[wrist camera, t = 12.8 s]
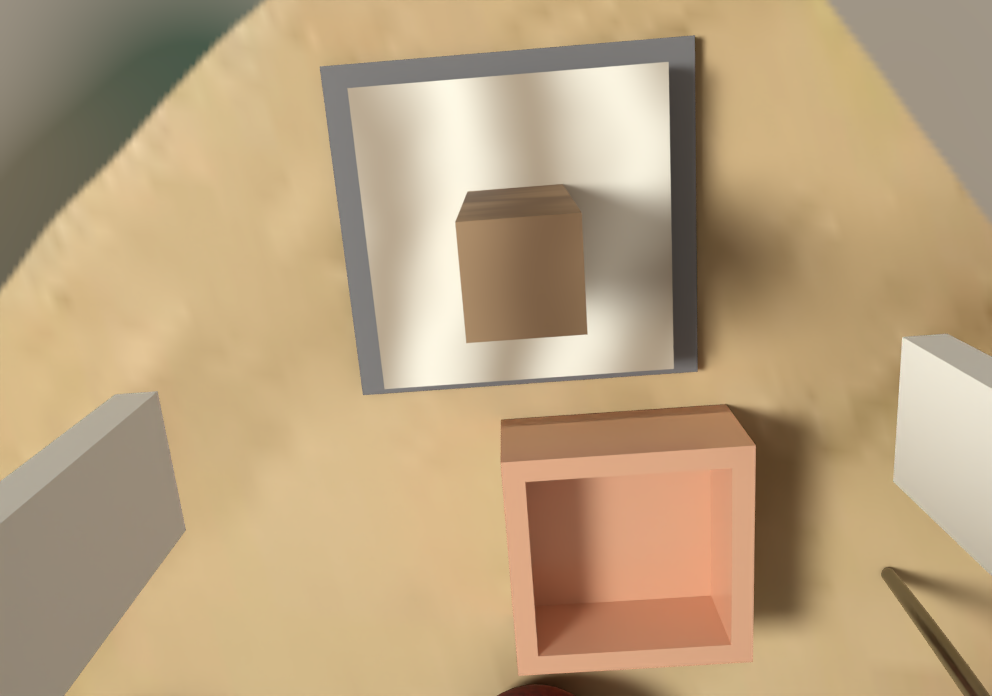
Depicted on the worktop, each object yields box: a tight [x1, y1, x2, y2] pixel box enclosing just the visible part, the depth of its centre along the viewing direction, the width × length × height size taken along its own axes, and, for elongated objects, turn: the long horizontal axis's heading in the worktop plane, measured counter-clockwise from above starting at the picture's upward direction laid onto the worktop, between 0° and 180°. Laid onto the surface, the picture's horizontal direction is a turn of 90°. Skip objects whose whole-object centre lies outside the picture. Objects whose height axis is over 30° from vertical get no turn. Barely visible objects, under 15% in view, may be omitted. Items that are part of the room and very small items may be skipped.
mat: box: [320, 35, 698, 395], centre depth 38 cm, size 16×15×1 cm
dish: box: [501, 404, 756, 676], centre depth 40 cm, size 11×11×5 cm
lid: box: [347, 62, 674, 389], centre depth 32 cm, size 13×13×11 cm
